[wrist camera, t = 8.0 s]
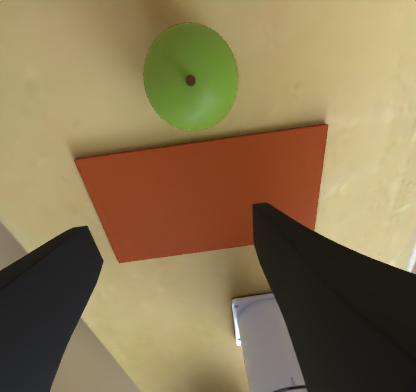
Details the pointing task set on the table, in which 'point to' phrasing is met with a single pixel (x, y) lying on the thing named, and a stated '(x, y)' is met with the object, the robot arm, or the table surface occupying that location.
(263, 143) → the cloth
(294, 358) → the robot arm
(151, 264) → the table surface
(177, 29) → the apple
